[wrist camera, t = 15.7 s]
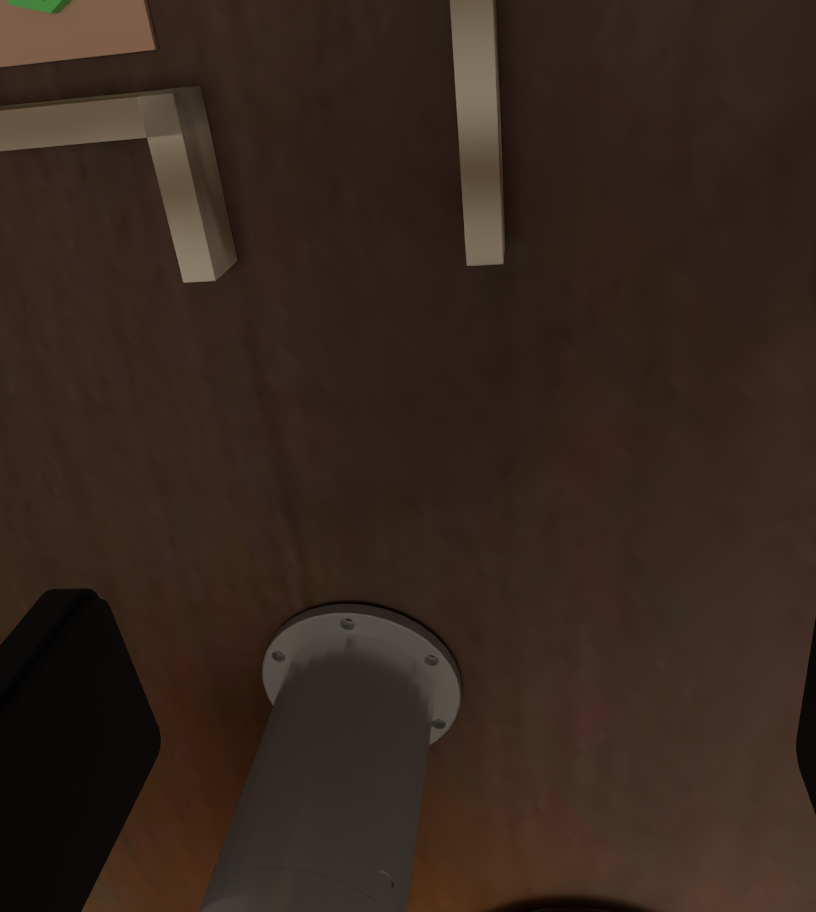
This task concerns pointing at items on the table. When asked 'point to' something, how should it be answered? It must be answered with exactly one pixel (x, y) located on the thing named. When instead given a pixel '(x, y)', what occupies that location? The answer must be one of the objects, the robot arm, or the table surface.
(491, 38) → the bent track
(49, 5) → the game piece
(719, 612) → the table surface
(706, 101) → the table surface
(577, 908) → the plant saucer
